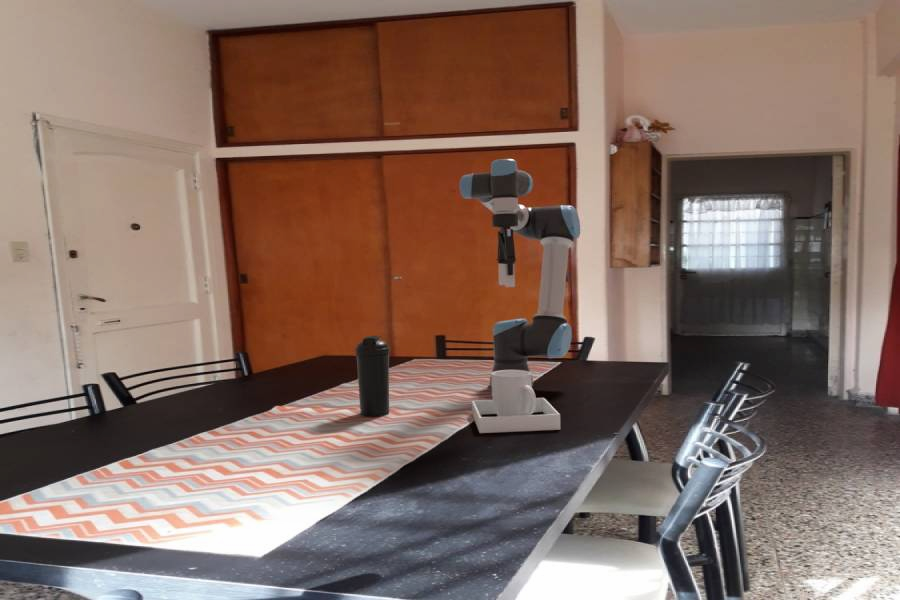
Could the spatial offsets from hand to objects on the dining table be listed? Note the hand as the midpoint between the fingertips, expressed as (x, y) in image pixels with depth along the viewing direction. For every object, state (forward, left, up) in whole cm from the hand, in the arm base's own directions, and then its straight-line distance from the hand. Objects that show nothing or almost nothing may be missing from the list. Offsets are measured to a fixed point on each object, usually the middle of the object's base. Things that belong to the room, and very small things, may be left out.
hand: (506, 286), depth 202 cm
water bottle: (-2, -40, -37) cm, 54 cm away
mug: (+15, -1, -37) cm, 39 cm away
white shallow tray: (+15, -1, -37) cm, 40 cm away
